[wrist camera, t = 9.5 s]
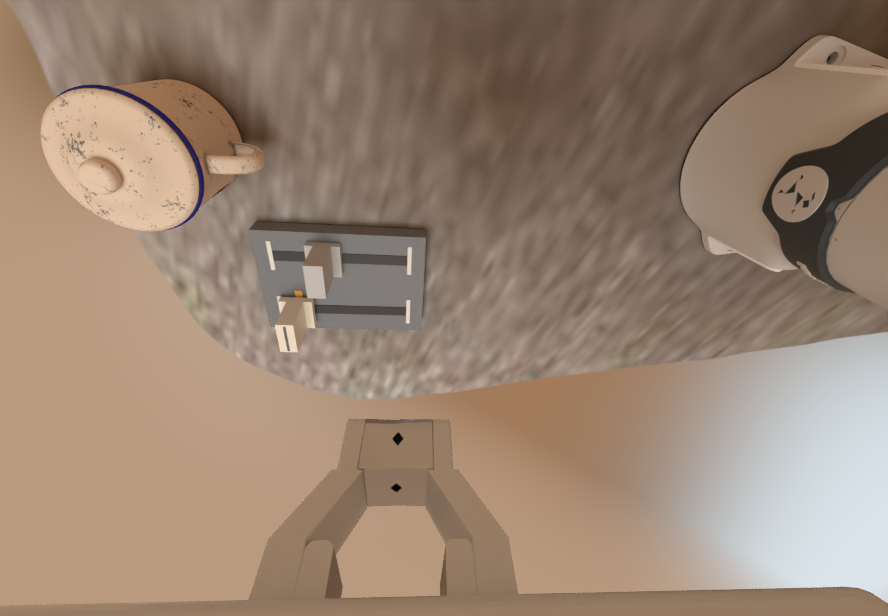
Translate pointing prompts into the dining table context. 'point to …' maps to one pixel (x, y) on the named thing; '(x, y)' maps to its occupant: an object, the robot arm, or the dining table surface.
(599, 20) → the dining table surface
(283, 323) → the cap
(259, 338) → the dining table surface
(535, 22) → the dining table surface
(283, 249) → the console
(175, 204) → the teacup with lid
